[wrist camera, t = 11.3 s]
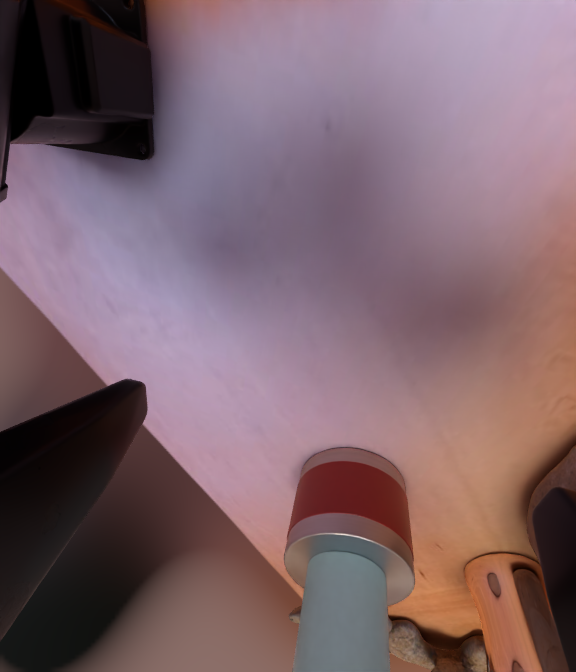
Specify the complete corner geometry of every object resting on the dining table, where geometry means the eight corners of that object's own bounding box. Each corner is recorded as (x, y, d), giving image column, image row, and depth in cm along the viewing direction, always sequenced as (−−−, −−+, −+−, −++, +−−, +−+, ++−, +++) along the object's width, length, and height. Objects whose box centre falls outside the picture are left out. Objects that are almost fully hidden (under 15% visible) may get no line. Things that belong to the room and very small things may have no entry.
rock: (295, 588, 32) (291, 567, 39) (281, 656, 31) (279, 621, 37) (511, 648, 32) (469, 616, 38) (510, 721, 30) (466, 674, 36)
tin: (293, 502, 29) (276, 586, 24) (308, 435, 25) (291, 518, 20) (389, 528, 28) (394, 621, 23) (420, 463, 24) (435, 557, 19)
